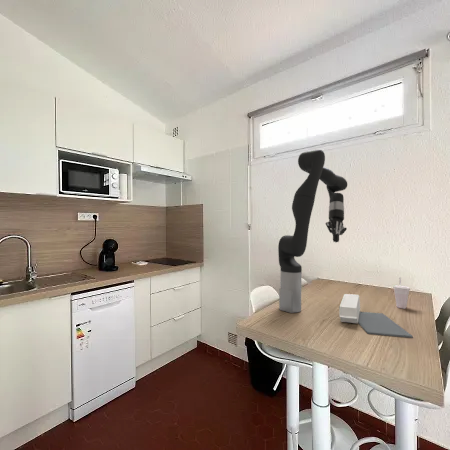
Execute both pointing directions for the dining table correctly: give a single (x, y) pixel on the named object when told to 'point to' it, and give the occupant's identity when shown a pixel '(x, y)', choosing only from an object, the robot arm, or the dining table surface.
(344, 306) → the milk
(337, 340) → the dining table surface
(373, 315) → the mat
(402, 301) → the smoothie
